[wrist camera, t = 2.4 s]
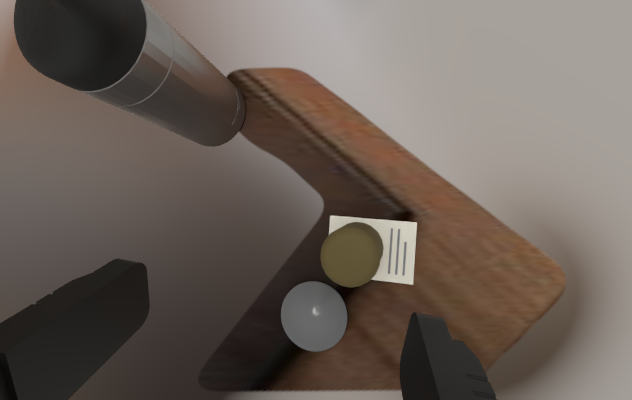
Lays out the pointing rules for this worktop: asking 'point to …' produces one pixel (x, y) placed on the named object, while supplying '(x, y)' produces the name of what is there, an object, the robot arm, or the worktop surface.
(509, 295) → the worktop surface
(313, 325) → the coaster
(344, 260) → the cork
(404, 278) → the letter
